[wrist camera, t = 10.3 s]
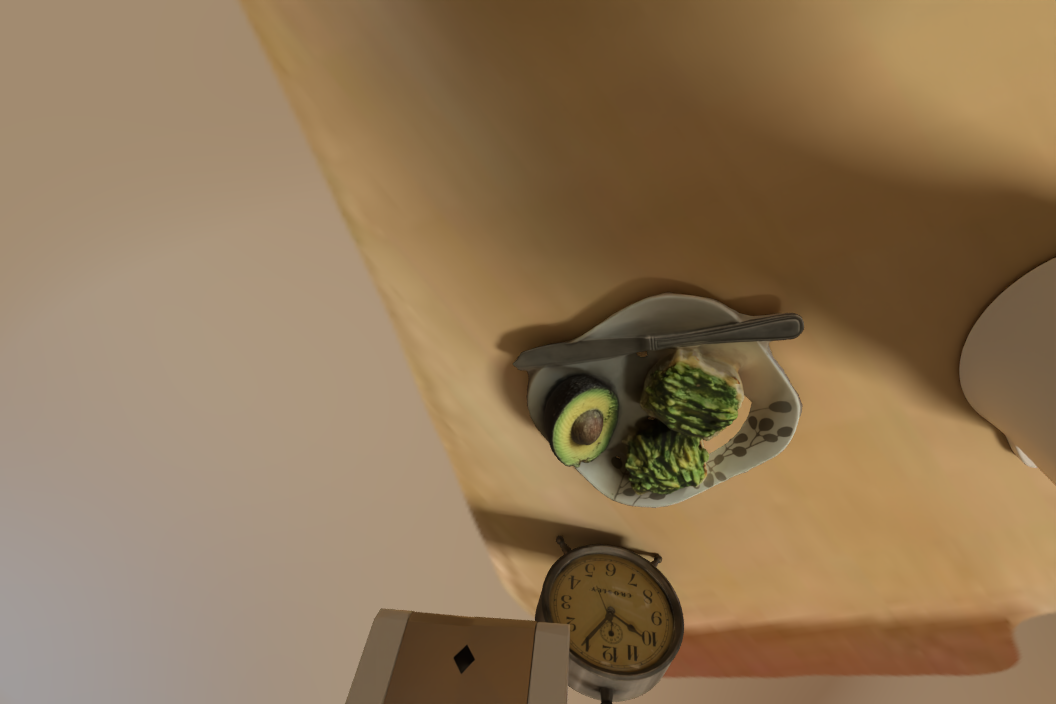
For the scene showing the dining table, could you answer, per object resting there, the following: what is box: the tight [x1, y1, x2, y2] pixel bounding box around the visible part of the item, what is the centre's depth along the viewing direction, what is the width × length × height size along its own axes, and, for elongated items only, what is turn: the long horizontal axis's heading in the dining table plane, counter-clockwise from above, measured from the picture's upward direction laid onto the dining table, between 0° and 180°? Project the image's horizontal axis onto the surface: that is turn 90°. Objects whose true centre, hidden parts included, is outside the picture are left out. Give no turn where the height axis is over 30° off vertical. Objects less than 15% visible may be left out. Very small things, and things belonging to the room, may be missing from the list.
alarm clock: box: [535, 536, 684, 704], centre depth 49 cm, size 11×5×16 cm, turn 80°
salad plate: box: [513, 292, 804, 508], centre depth 43 cm, size 19×18×5 cm
